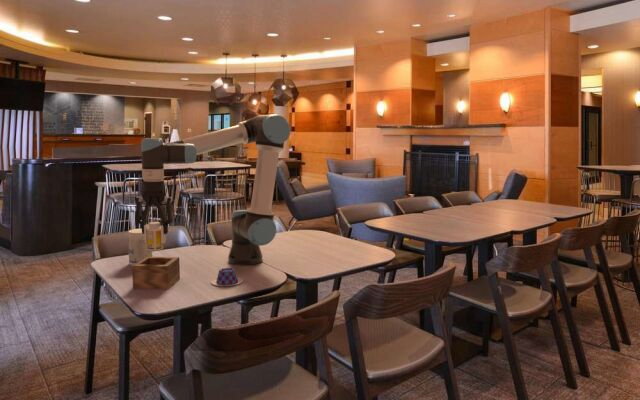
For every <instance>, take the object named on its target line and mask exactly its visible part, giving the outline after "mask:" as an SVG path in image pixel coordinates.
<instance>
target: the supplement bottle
mask: <svg viewBox="0 0 640 400" xmlns="http://www.w3.org/2000/svg"><path fill="white" fill-rule="evenodd" d="M148 224H149V228H148V229H147V243H148V250H150V251H152V252H157V251H161V250H163V249H164V243H161V222H159V221H150V222H148Z"/></svg>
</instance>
